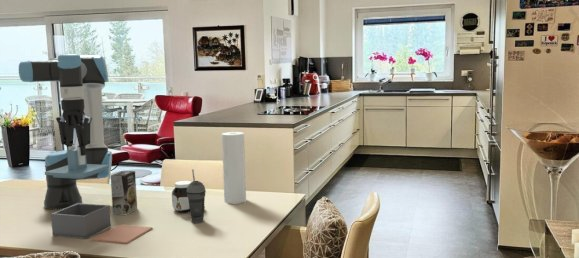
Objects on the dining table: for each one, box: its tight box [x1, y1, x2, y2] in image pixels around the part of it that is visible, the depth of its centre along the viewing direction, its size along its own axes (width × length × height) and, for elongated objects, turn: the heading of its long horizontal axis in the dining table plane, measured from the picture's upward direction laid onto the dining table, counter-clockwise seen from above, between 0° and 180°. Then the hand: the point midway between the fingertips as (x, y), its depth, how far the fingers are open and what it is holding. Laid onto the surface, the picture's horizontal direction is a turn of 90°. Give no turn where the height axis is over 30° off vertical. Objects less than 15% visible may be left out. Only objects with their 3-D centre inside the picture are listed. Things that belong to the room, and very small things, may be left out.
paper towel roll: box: [221, 131, 247, 205], centre depth 221 cm, size 9×9×30 cm
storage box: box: [50, 203, 112, 240], centre depth 187 cm, size 14×14×8 cm
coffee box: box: [110, 170, 138, 215], centre depth 210 cm, size 9×6×16 cm
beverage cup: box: [186, 169, 207, 224], centre depth 194 cm, size 7×7×20 cm
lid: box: [44, 147, 109, 179], centre depth 184 cm, size 15×15×9 cm
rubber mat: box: [91, 224, 153, 245], centre depth 182 cm, size 14×16×1 cm
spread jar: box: [171, 180, 206, 214], centre depth 210 cm, size 12×11×12 cm
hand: (77, 164), depth 184 cm, fingers closed on lid, 3 cm apart
